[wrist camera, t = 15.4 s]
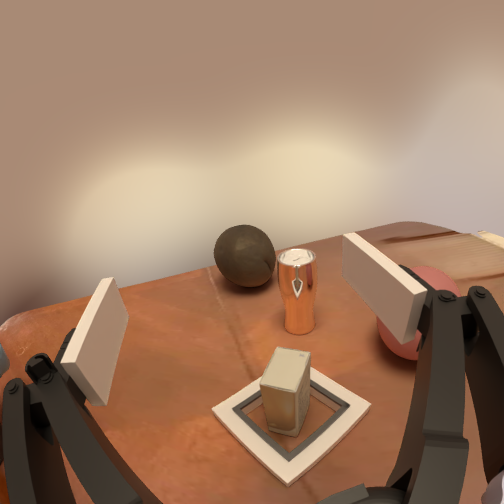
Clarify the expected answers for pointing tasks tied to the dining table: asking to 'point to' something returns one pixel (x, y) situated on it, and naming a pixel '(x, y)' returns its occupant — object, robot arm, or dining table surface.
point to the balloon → (409, 349)
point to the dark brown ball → (245, 255)
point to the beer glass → (298, 288)
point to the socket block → (308, 451)
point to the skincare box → (286, 390)
